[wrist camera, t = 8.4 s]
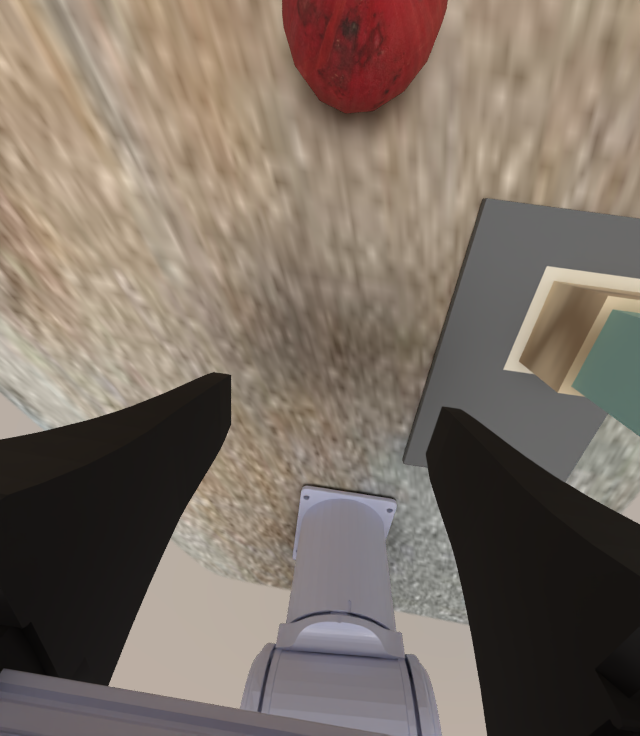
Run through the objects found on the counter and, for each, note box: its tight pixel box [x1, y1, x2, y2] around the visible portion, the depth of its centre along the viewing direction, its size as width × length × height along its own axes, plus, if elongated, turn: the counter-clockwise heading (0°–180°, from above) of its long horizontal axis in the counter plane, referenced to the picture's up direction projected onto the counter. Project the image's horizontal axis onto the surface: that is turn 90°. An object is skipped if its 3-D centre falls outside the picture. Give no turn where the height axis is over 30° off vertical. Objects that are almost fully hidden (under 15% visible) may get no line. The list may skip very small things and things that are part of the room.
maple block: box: [519, 281, 640, 397], centre depth 17 cm, size 5×5×4 cm
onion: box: [282, 0, 448, 113], centre depth 11 cm, size 6×6×8 cm
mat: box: [403, 198, 640, 482], centre depth 20 cm, size 18×12×1 cm, turn 173°
